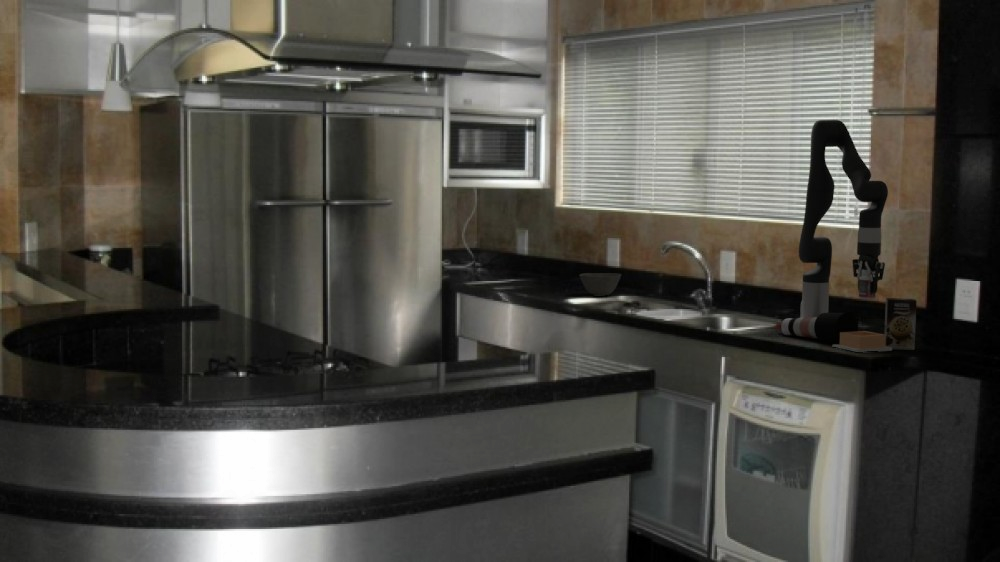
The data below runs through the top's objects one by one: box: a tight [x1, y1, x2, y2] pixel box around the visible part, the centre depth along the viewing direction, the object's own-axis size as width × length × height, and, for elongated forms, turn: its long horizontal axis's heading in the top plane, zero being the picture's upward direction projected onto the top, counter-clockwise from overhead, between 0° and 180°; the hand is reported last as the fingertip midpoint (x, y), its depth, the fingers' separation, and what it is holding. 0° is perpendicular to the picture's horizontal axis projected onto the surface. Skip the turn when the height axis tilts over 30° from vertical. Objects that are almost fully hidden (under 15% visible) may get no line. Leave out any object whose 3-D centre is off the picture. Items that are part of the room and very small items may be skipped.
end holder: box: [832, 330, 893, 353], centre depth 387 cm, size 12×14×5 cm
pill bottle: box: [858, 270, 877, 301], centre depth 401 cm, size 5×5×10 cm
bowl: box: [578, 272, 622, 296], centre depth 541 cm, size 19×19×10 cm
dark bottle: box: [774, 312, 859, 344], centre depth 410 cm, size 10×34×10 cm, turn 26°
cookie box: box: [883, 297, 918, 351], centre depth 389 cm, size 9×6×16 cm
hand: (867, 291), depth 401 cm, fingers closed on pill bottle, 5 cm apart
